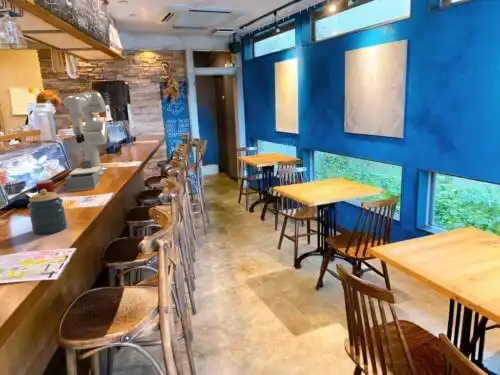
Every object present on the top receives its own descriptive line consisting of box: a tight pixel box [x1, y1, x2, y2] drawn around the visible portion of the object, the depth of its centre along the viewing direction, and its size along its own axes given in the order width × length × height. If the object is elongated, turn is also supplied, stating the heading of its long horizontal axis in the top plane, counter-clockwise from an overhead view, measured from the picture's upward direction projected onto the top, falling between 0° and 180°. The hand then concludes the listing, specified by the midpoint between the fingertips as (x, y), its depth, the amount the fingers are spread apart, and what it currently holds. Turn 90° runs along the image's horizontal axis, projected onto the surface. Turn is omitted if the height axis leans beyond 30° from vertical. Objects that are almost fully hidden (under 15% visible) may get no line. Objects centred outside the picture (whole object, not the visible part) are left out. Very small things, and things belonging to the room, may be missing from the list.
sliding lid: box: [68, 160, 102, 176], centre depth 244 cm, size 20×16×6 cm
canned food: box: [35, 179, 55, 194], centre depth 205 cm, size 8×8×11 cm
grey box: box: [64, 171, 101, 192], centre depth 235 cm, size 20×16×8 cm
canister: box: [27, 189, 68, 236], centre depth 153 cm, size 13×13×18 cm
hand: (80, 142), depth 247 cm, fingers open, 9 cm apart
